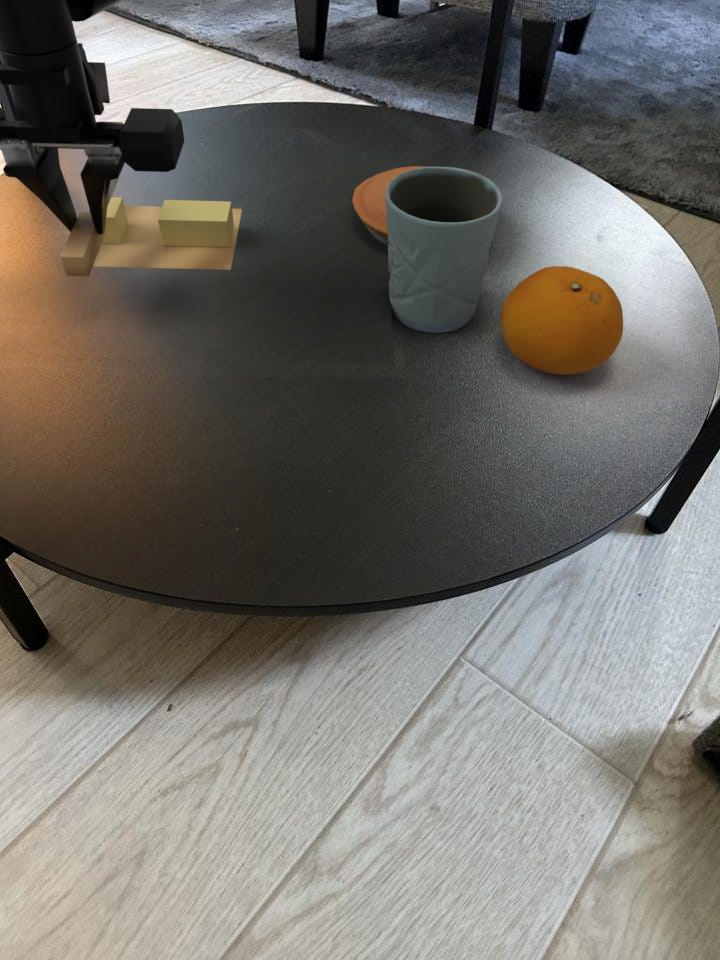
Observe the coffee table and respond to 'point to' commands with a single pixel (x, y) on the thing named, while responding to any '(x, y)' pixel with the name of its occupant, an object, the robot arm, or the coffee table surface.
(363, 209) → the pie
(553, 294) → the fruit
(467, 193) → the green ceramic cup
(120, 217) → the butter pat
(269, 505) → the coffee table surface
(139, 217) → the cutting board
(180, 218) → the butter stick
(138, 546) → the coffee table surface
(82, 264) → the chisel
